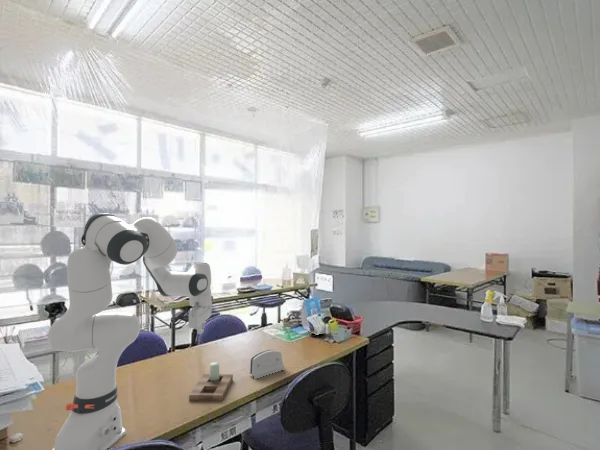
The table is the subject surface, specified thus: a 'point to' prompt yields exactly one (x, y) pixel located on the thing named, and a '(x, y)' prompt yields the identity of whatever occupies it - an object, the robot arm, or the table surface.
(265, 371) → the grey rounded block
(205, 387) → the board
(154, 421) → the table surface
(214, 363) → the peg
